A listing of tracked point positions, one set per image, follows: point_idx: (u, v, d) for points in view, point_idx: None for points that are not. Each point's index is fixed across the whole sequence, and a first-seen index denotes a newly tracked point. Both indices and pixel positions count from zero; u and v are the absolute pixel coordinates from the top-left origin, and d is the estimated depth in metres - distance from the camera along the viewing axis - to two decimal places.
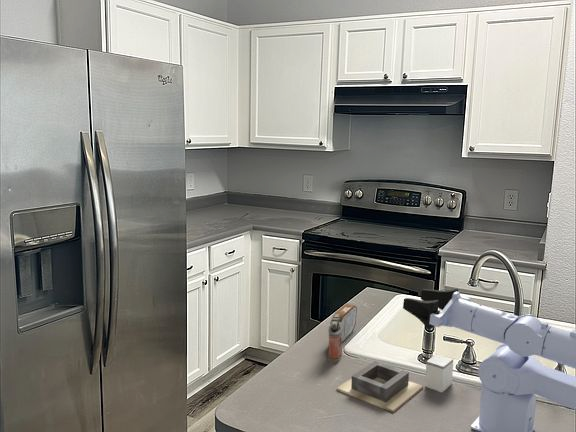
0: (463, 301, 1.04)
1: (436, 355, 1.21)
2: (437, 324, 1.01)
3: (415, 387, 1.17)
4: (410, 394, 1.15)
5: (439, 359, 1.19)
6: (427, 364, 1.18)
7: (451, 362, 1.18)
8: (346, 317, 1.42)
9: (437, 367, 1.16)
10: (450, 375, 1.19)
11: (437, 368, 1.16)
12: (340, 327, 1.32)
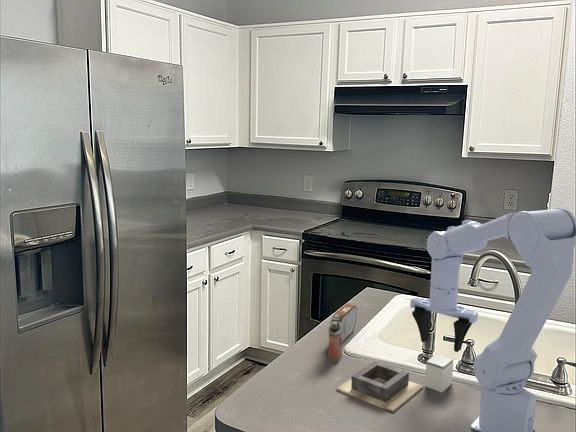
0: None
1: (436, 355, 1.21)
2: None
3: (415, 387, 1.17)
4: (410, 394, 1.15)
5: (439, 359, 1.19)
6: (427, 364, 1.18)
7: (451, 362, 1.18)
8: (346, 317, 1.42)
9: (437, 367, 1.16)
10: (450, 375, 1.19)
11: (437, 368, 1.16)
12: (340, 327, 1.32)
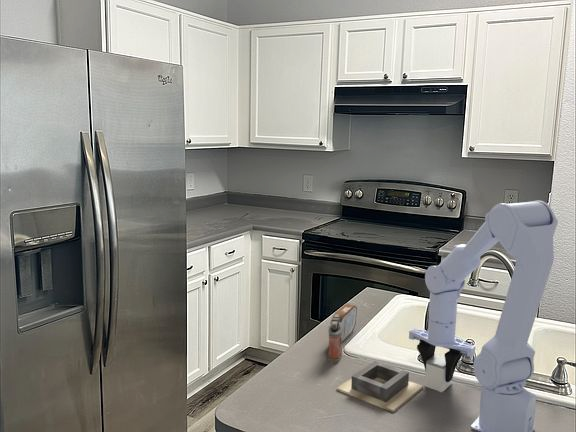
0: None
1: (436, 354, 1.21)
2: None
3: (415, 387, 1.17)
4: (410, 394, 1.15)
5: (439, 358, 1.19)
6: (427, 364, 1.18)
7: None
8: (346, 317, 1.42)
9: (437, 367, 1.16)
10: None
11: (437, 368, 1.16)
12: (340, 327, 1.32)
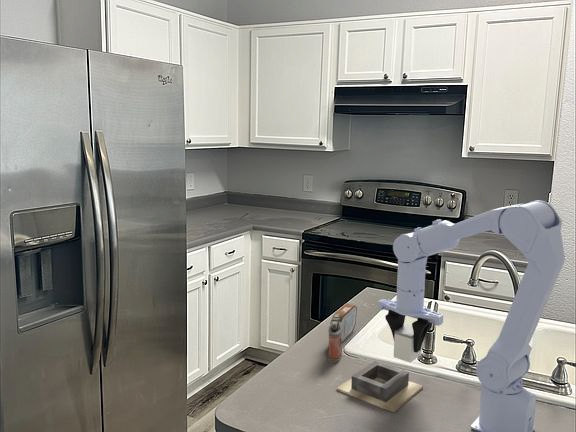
0: None
1: (405, 325, 1.19)
2: None
3: (415, 387, 1.17)
4: (410, 394, 1.15)
5: (408, 329, 1.17)
6: (395, 334, 1.16)
7: None
8: (346, 317, 1.42)
9: (405, 337, 1.14)
10: None
11: (405, 338, 1.14)
12: (340, 327, 1.32)
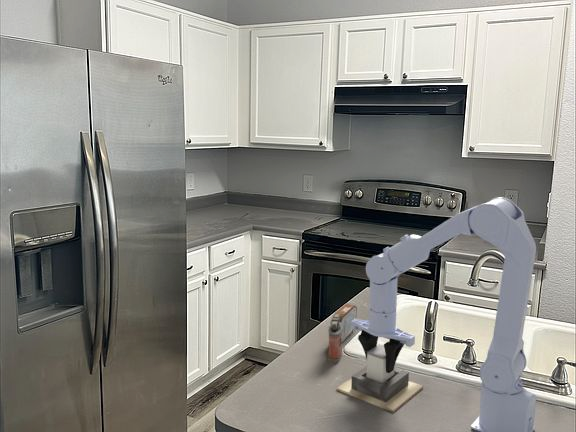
0: None
1: (378, 345, 1.19)
2: None
3: (415, 387, 1.17)
4: (410, 394, 1.15)
5: (380, 349, 1.17)
6: (368, 354, 1.15)
7: None
8: (346, 317, 1.42)
9: (377, 357, 1.14)
10: None
11: (377, 358, 1.14)
12: (340, 327, 1.32)
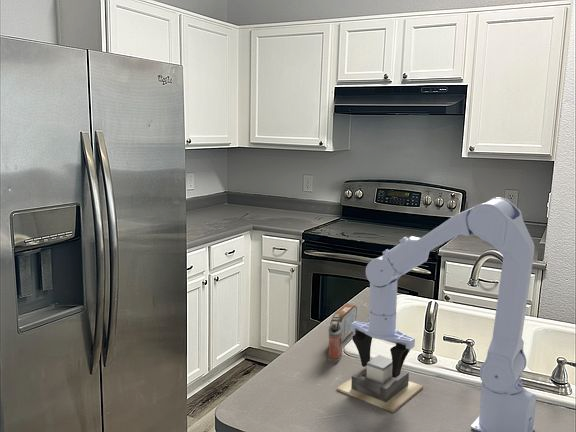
0: None
1: (378, 356, 1.19)
2: None
3: (415, 387, 1.17)
4: (410, 394, 1.15)
5: (380, 360, 1.17)
6: (367, 365, 1.16)
7: None
8: (346, 317, 1.42)
9: (377, 368, 1.14)
10: (391, 376, 1.17)
11: (377, 369, 1.14)
12: (340, 327, 1.32)
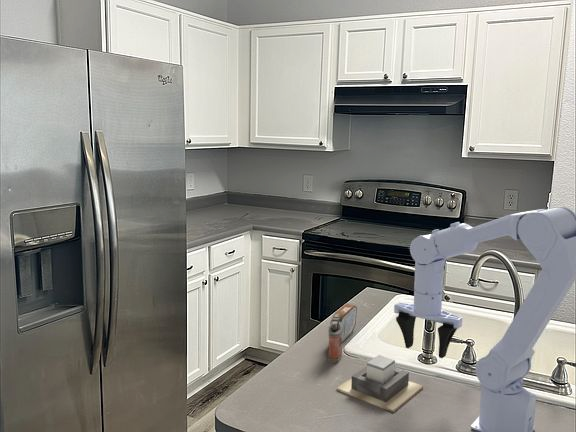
0: None
1: (378, 356, 1.19)
2: None
3: (415, 387, 1.17)
4: (410, 394, 1.15)
5: (380, 360, 1.17)
6: (367, 365, 1.16)
7: (392, 363, 1.17)
8: (346, 317, 1.42)
9: (377, 368, 1.14)
10: (391, 376, 1.17)
11: (377, 369, 1.14)
12: (340, 327, 1.32)
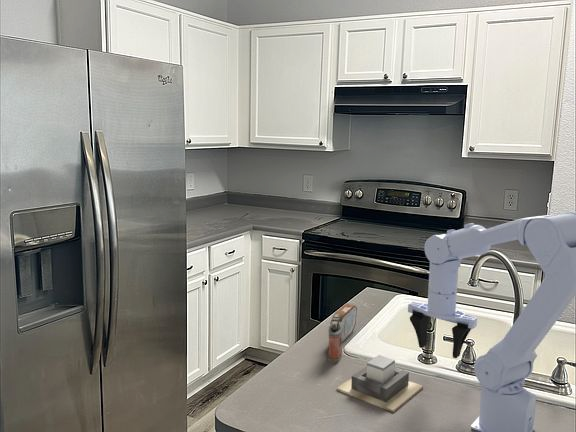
0: None
1: (378, 356, 1.19)
2: None
3: (415, 387, 1.17)
4: (410, 394, 1.15)
5: (380, 360, 1.17)
6: (367, 365, 1.16)
7: (392, 363, 1.17)
8: (346, 317, 1.42)
9: (377, 368, 1.14)
10: (391, 376, 1.17)
11: (377, 369, 1.14)
12: (340, 327, 1.32)
